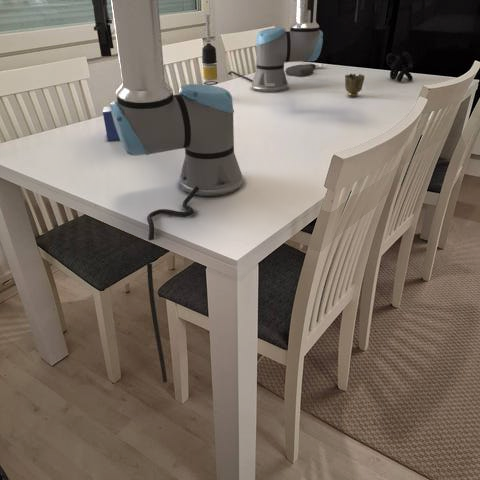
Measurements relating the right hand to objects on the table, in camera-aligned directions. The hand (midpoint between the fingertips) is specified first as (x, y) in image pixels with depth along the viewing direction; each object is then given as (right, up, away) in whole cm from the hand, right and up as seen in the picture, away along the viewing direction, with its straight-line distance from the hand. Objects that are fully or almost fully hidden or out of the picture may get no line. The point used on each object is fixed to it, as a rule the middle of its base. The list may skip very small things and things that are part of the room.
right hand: (333, 22), depth 135 cm
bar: (-59, -33, +7) cm, 68 cm away
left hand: (-66, -12, -7) cm, 68 cm away
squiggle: (+43, +6, +65) cm, 79 cm away
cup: (+16, -9, +43) cm, 47 cm away
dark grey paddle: (+4, +17, +84) cm, 86 cm away
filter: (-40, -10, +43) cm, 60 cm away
